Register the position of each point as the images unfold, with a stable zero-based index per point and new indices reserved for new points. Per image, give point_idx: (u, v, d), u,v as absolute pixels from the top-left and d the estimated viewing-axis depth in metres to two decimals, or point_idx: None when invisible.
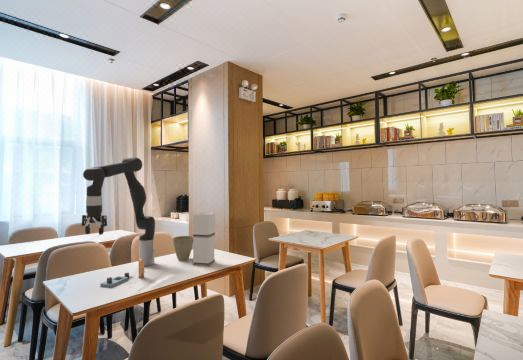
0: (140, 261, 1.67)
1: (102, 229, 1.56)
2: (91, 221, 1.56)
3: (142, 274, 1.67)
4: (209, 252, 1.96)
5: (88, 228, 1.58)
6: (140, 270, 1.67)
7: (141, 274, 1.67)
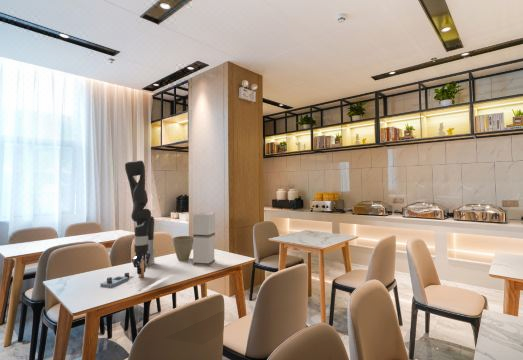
0: None
1: None
2: (142, 258, 1.68)
3: (142, 274, 1.67)
4: (209, 252, 1.96)
5: None
6: None
7: (141, 274, 1.67)
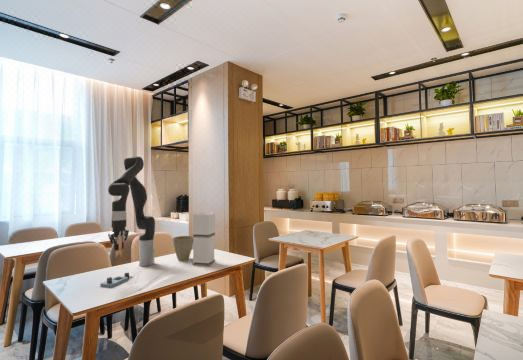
0: None
1: None
2: (120, 234, 1.61)
3: (119, 251, 1.61)
4: (209, 252, 1.96)
5: None
6: None
7: (118, 251, 1.60)
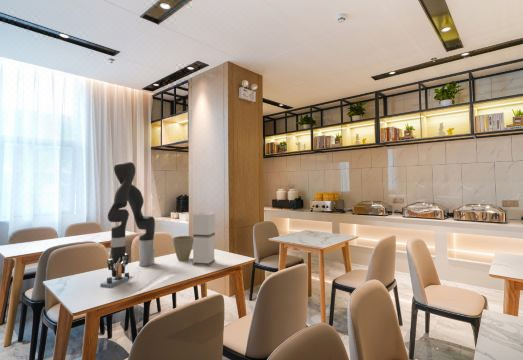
0: None
1: None
2: (119, 261, 1.61)
3: (119, 278, 1.61)
4: (209, 252, 1.96)
5: None
6: (117, 274, 1.60)
7: (118, 278, 1.60)
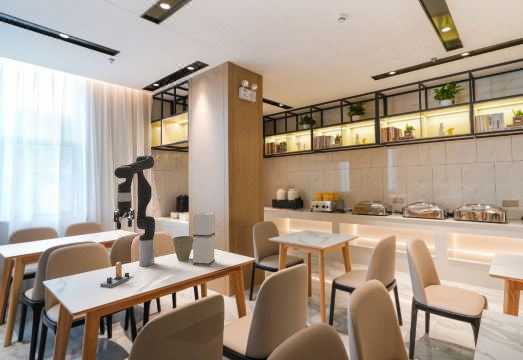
0: (117, 264, 1.60)
1: None
2: (125, 216, 1.68)
3: (119, 278, 1.61)
4: (209, 252, 1.96)
5: None
6: (117, 274, 1.60)
7: (118, 278, 1.60)
